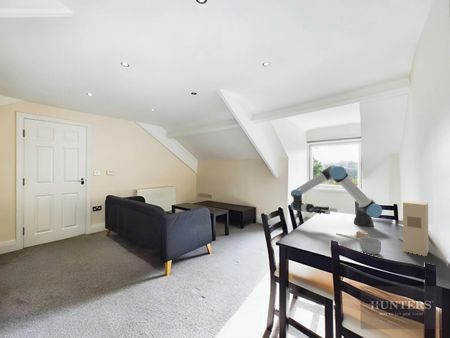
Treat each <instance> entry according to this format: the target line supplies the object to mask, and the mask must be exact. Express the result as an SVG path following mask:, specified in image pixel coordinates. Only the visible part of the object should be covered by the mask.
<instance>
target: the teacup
mask: <svg viewBox="0 0 450 338" xmlns="http://www.w3.org/2000/svg"><path fill="white" fill-rule="evenodd" d="M358 241H359V246H360V249H361V251H363V252H364V253H366V254H368V255H375V256H376V255H378V254H380V253H381V252H382V241H381V240H380V239H378V238H375V237H372V236H371V237H370V236H368V237H361V238H359V240H358Z"/></svg>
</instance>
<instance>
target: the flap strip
mask: <svg viewBox="0 0 450 338" xmlns="http://www.w3.org/2000/svg"><path fill="white" fill-rule="evenodd" d="M335 234H336V235H337V236H342V237H345V238H348V239H354V240H358V241H360V240H359V238H361V237H369V233H368V232H363V231H360V230H359V231H356V234H355V235H353V234H349V233H345V232H341V231H337V232H335Z"/></svg>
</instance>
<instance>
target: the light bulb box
mask: <svg viewBox="0 0 450 338" xmlns="http://www.w3.org/2000/svg"><path fill="white" fill-rule="evenodd" d="M397 229H398V230H397V239H398V240H400V241H402V242H403V223H402V224H401V223H398V224H397Z"/></svg>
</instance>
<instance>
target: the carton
mask: <svg viewBox="0 0 450 338" xmlns="http://www.w3.org/2000/svg"><path fill="white" fill-rule="evenodd" d="M402 224H403V241H402V243H403V244H402V247H403V248H402V250H403V251H402V252H404V253H408V252H409V254H412V253H413V255H416V254H418V255H417V256H421V255H422V256H421V257H425V256H428V254H429V202H422V201H414V200H413V201H412V200H405V201H404V202H402ZM427 253H428V254H427Z"/></svg>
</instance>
